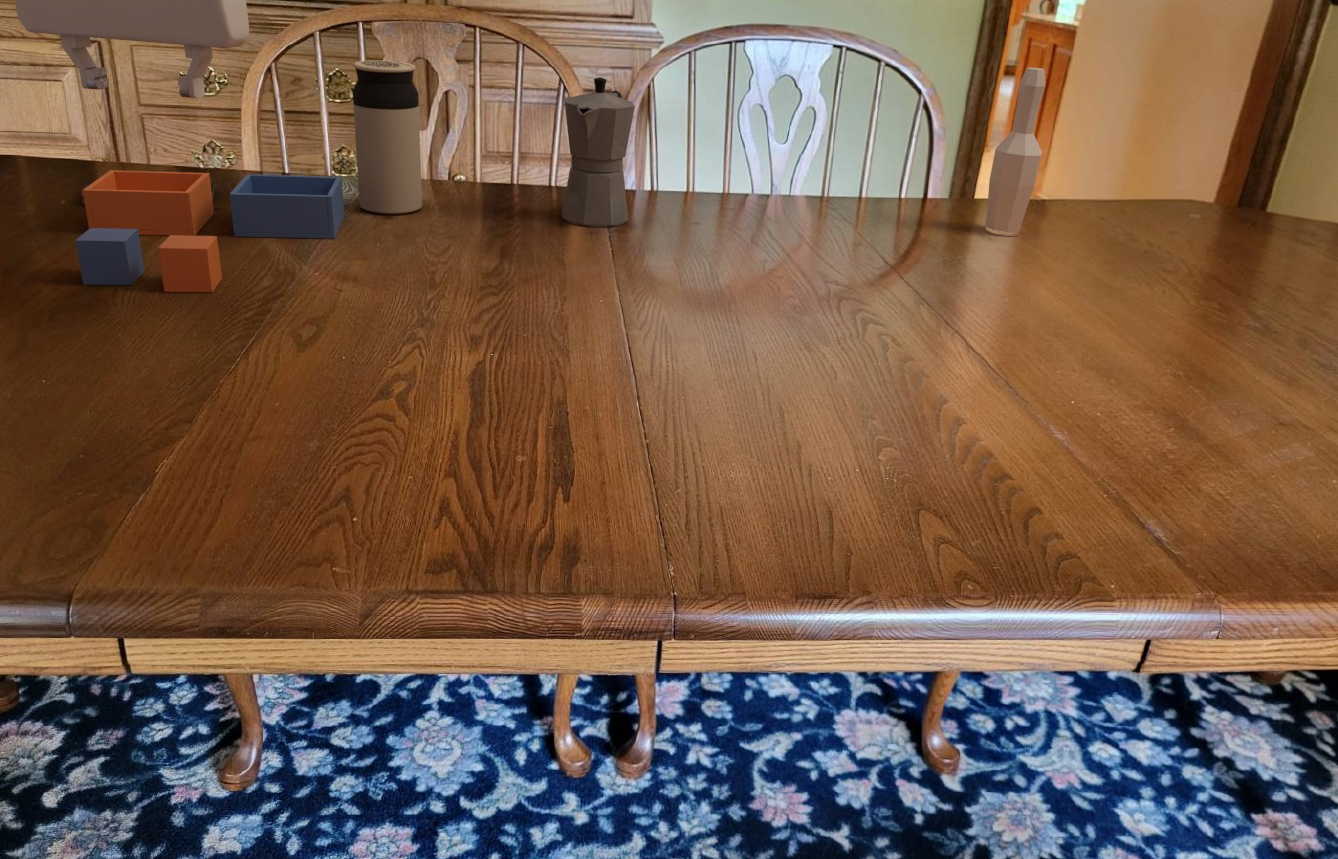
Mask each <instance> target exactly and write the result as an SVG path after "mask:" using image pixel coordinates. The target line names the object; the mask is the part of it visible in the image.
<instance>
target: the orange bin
mask: <svg viewBox="0 0 1338 859" xmlns="http://www.w3.org/2000/svg"><path fill="white" fill-rule="evenodd" d="M210 181H211V174H210V173H209V172H185V171H184V172H183V171H152V170H151V171H150V170H118V169H116V170H115V169H114V170H113V169H110V170H109V171H107V172H106V173H105V174H103V175H101V176H100V177H99V178H97V179H96V180H95V181H93V182H91V183H92V184H90V185H89V186H88V187H86V188H85V189H84V188H83V189H82V191H83V197H84V202H85V205H84V209H85V212H86V213H85V214H86V220H87V224H88V230H89V229H90V228H109V229H138V233H139V236H170V235H182V236H197V234H198V233H199V232H200V231H201V229H202V228H204V226H205V225H206V224H207V223H208V221H209V220H210V219H211V218H212V217H213V215H215V210H214V209H215V208H214V202H213V199H212V191H211V183H210Z"/></svg>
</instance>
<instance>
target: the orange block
mask: <svg viewBox="0 0 1338 859" xmlns="http://www.w3.org/2000/svg"><path fill="white" fill-rule="evenodd" d="M157 250H158V256H159V257H158V258H159V264H160V271H161V277H162V285H163V291H164V293H213V292H215V289H216V288H217V287H218V286H219V284H220V283H221V281H222V280H223V274H222V264H221V258H220V250H219V241H218V236H217V235H195V236H182V235H168V237H166V239H165V240H164V241H163V242H162V243H161V244H160V245H159V246H158V248H157Z"/></svg>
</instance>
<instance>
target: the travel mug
mask: <svg viewBox="0 0 1338 859" xmlns="http://www.w3.org/2000/svg"><path fill="white" fill-rule="evenodd" d="M352 66H353V68H354V69H355V72H356V78H357V80H356V82H355V85H354V87H353V89H352V100H353V101H352V102H353V117H354V118H353V119H354V120H353V121H354V138H355V151H356V152H355V154H356V169H357V186H358V203H359V205H358V206H359V207H360V208H362V209H363V210H365V211H367V212H369V213H372V214H378V215H389V216H390V215H392V216H393V215H395V216H396V215H404V214H405V215H406V214H411V213H413V212H416V211H418V210H420V209H421V208H422V207H423V189H422V187H423V186H422V159H421V156H422V155H421V135H420V134H421V131H420V130H421V128H420V102H419V101H420V100H419V98H420V97H419V91H418V90H417V88H416V86H415V83H414V82H413V78H414V71H415V70H416V65H414V64H413V63H409V62H405V61H395V60H381V59H379V60H377V59H374V60H372V59H371V60H369V59H368V60H359V61H355V62H354V63H352Z"/></svg>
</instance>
